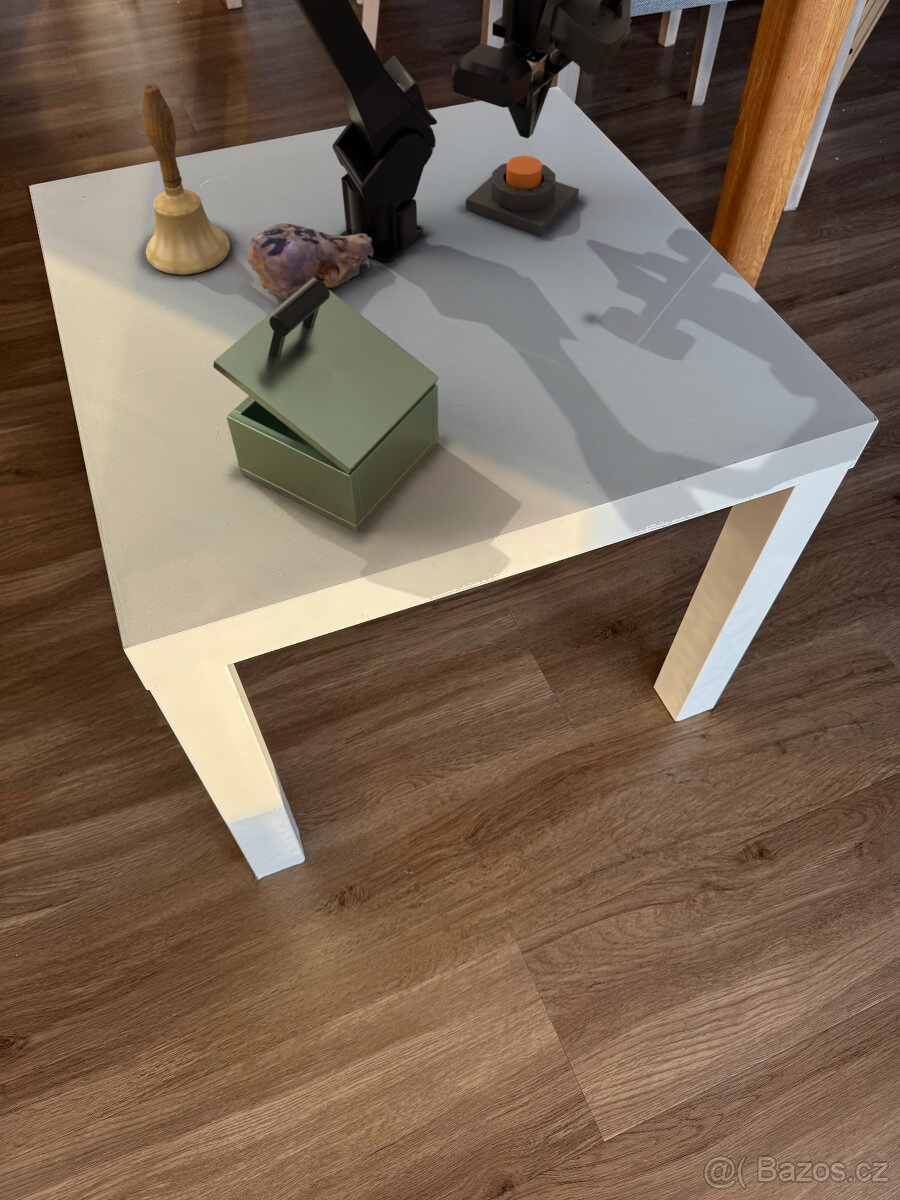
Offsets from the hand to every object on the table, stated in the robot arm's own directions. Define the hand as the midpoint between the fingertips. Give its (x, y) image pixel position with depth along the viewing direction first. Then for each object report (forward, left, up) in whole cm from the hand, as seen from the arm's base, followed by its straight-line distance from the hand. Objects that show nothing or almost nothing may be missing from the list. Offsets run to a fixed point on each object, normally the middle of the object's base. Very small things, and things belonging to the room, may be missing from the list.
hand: (525, 135), depth 94 cm
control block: (0, 0, -7) cm, 7 cm away
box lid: (+6, -40, +1) cm, 40 cm away
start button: (0, 0, -5) cm, 5 cm away
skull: (-10, -22, -8) cm, 25 cm away
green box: (+6, -40, -7) cm, 41 cm away
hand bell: (-24, -25, -8) cm, 35 cm away
